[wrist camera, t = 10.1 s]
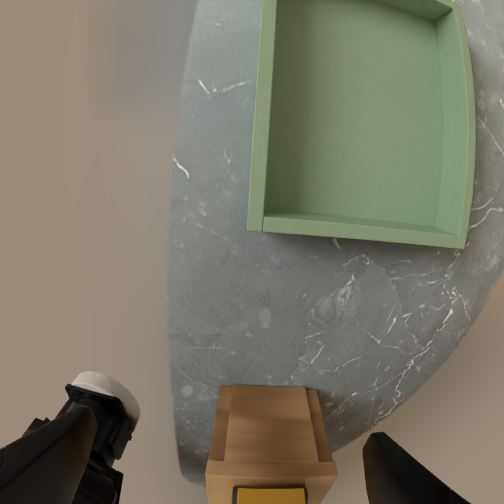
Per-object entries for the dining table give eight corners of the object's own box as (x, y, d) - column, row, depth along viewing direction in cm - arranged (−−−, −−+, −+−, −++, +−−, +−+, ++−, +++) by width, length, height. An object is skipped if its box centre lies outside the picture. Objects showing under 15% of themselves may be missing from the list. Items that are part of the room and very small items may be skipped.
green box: (248, 219, 18) (246, 231, 15) (265, -20, 14) (266, -48, 10) (436, 236, 18) (464, 249, 15) (437, 21, 14) (460, 5, 10)
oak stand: (220, 439, 24) (210, 517, 15) (220, 382, 22) (204, 474, 13) (301, 442, 24) (311, 518, 15) (317, 386, 22) (338, 475, 13)
